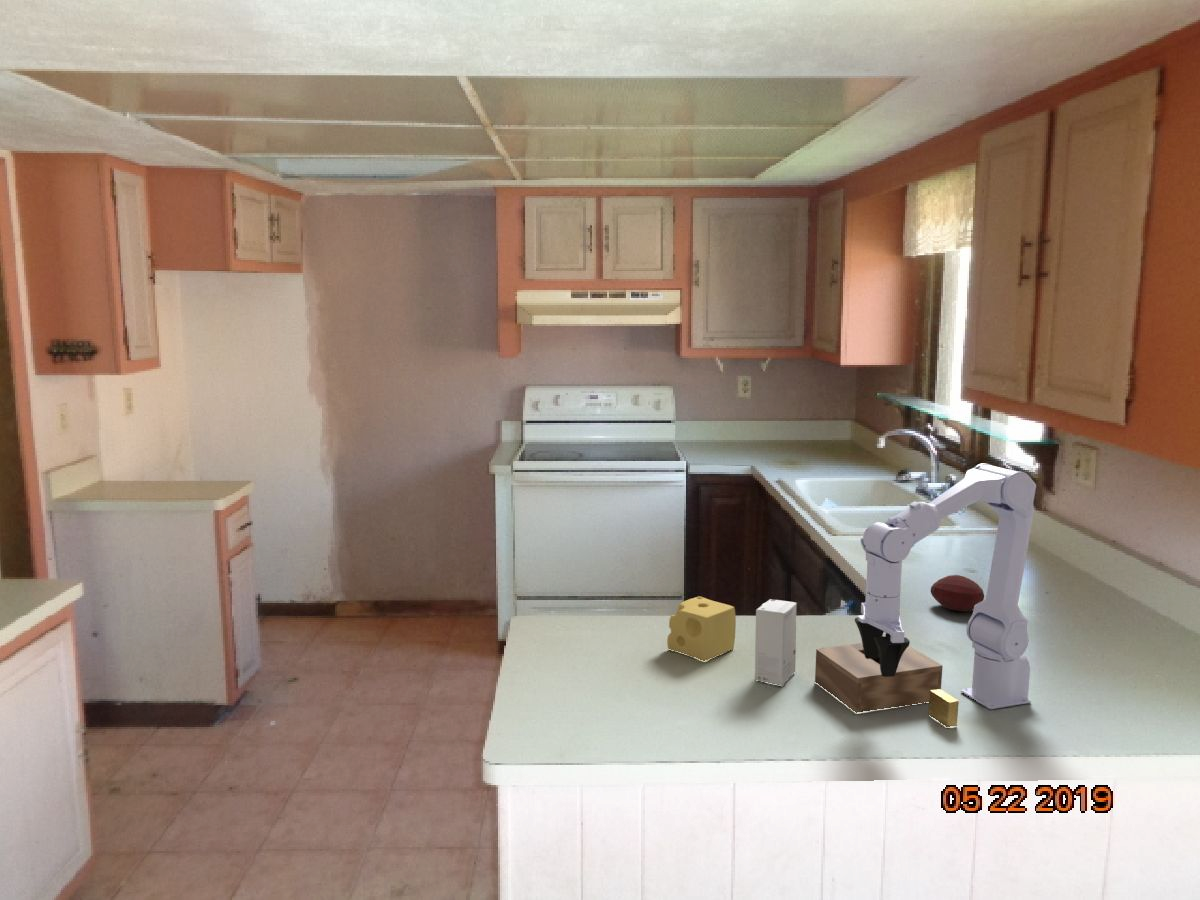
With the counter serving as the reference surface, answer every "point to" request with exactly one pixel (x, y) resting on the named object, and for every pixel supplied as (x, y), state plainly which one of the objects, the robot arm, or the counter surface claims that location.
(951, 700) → the block
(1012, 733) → the counter surface
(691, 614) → the cheese
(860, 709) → the coin box
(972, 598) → the american football
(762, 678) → the skincare box
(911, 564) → the counter surface
